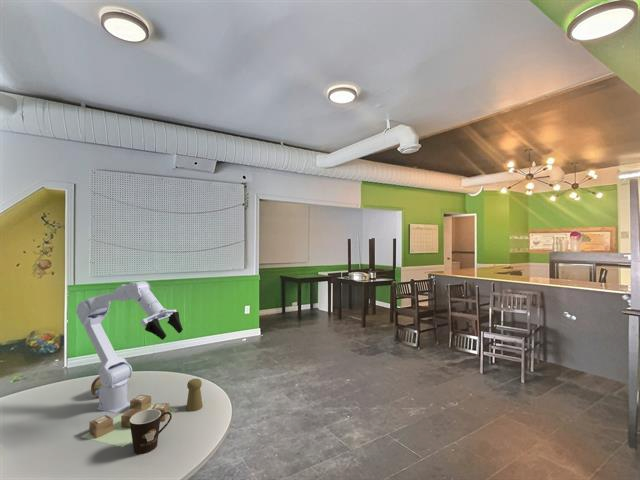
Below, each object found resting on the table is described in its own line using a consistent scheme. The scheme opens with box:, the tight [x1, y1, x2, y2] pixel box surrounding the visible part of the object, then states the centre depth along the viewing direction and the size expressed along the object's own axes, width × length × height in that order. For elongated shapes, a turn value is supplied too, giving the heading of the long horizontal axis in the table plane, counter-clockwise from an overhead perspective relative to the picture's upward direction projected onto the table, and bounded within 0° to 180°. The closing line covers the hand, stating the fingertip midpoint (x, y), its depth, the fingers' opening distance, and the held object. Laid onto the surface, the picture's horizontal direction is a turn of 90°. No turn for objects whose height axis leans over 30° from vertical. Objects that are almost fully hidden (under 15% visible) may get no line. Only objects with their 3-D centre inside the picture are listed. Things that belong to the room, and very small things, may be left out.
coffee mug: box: [130, 409, 173, 455], centre depth 101 cm, size 12×9×10 cm
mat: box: [80, 403, 179, 448], centre depth 115 cm, size 18×24×1 cm
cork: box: [185, 378, 204, 413], centre depth 125 cm, size 6×6×11 cm
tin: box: [90, 376, 129, 398], centre depth 139 cm, size 15×3×8 cm, turn 155°
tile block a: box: [88, 414, 113, 438], centre depth 109 cm, size 5×5×4 cm
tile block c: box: [129, 394, 152, 410], centre depth 124 cm, size 5×5×4 cm
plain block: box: [121, 408, 144, 428], centre depth 114 cm, size 5×5×4 cm
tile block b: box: [152, 402, 170, 422], centre depth 118 cm, size 5×5×4 cm
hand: (173, 334), depth 118 cm, fingers open, 7 cm apart
